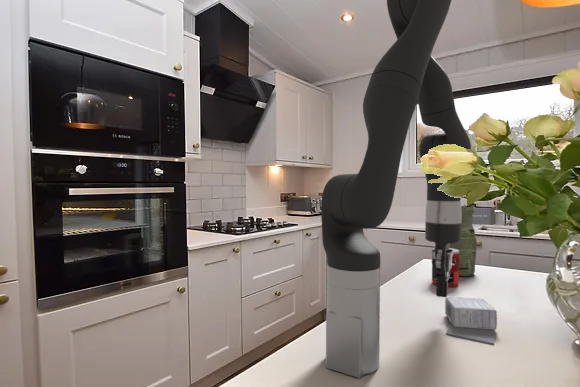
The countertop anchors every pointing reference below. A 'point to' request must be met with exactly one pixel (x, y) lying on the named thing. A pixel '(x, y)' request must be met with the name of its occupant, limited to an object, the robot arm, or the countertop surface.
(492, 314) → the medicine box
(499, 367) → the countertop surface
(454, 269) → the canned food
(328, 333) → the robot arm
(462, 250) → the pouch
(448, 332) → the mat
